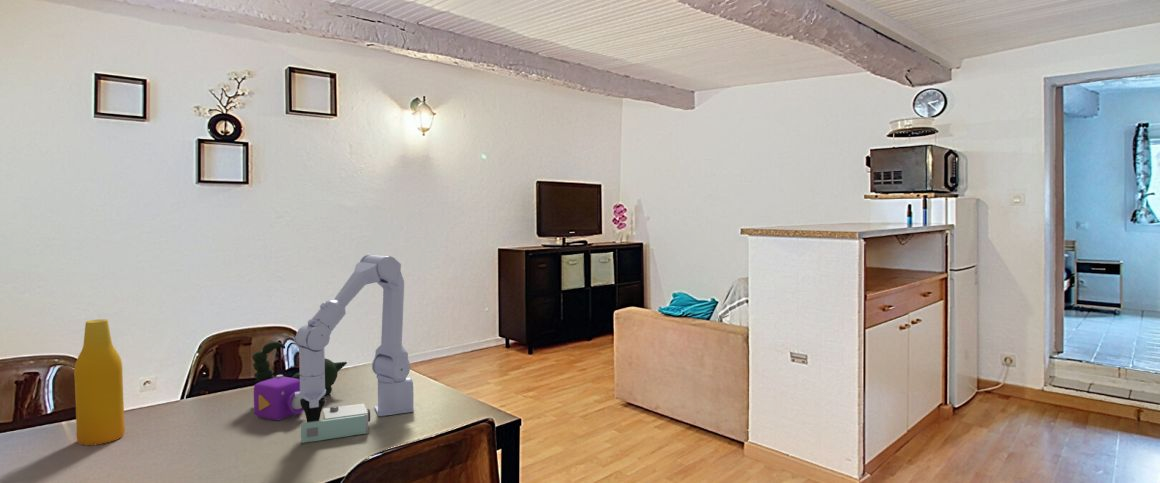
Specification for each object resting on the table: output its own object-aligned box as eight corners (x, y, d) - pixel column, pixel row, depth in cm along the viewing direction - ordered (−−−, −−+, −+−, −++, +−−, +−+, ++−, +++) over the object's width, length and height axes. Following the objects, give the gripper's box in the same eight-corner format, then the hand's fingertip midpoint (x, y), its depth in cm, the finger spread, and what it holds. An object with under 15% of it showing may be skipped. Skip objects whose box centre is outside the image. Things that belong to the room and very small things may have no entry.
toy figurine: (261, 415, 172) (353, 392, 185) (252, 349, 169) (346, 331, 183) (257, 405, 179) (346, 384, 193) (249, 342, 177) (339, 326, 191)
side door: (368, 432, 155) (367, 413, 155) (368, 433, 154) (368, 415, 154) (301, 442, 149) (300, 422, 148) (301, 443, 147) (300, 424, 147)
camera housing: (368, 421, 163) (367, 399, 163) (372, 431, 156) (372, 409, 156) (323, 427, 159) (322, 405, 158) (325, 438, 151) (325, 415, 151)
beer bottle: (84, 434, 152) (79, 318, 150) (129, 429, 155) (125, 316, 153) (70, 448, 143) (65, 325, 141) (119, 443, 147) (114, 323, 145)
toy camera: (293, 424, 160) (292, 387, 160) (247, 420, 163) (246, 383, 162) (318, 410, 171) (318, 375, 170) (275, 407, 174) (274, 372, 173)
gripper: (293, 368, 157) (294, 420, 158) (295, 383, 144) (296, 440, 145) (323, 365, 160) (324, 416, 161) (327, 380, 147) (328, 435, 148)
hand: (313, 427), depth 153 cm, fingers closed
